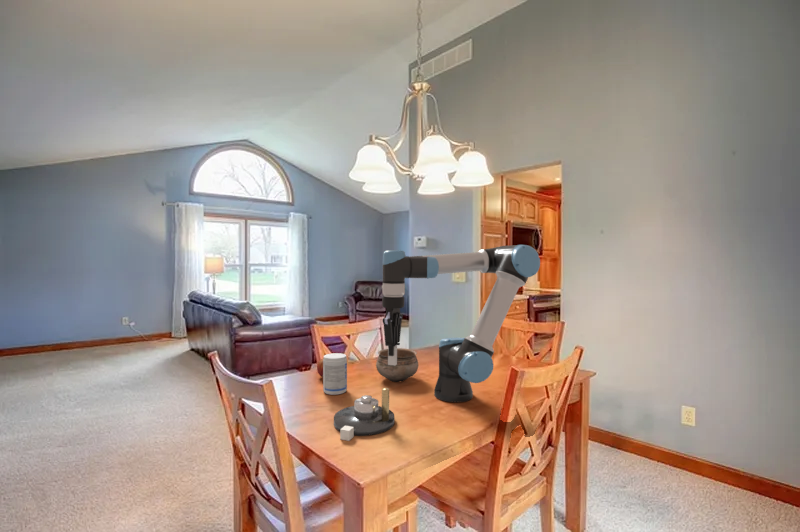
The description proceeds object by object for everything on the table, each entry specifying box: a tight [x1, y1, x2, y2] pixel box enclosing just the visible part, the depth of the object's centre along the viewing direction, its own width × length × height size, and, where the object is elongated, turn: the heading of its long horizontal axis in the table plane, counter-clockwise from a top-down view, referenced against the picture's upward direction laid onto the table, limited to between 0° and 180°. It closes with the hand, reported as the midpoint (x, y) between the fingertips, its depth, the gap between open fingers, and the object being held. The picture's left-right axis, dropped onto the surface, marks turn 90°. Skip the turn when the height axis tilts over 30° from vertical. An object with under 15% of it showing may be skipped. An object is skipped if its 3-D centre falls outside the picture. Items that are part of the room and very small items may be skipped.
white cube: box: [339, 426, 355, 442], centre depth 121 cm, size 3×3×3 cm
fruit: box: [316, 358, 323, 378], centre depth 180 cm, size 11×10×10 cm
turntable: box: [333, 387, 395, 437], centre depth 132 cm, size 20×20×12 cm
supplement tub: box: [322, 352, 348, 396], centre depth 162 cm, size 10×10×15 cm
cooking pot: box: [375, 347, 419, 383], centre depth 178 cm, size 25×19×12 cm
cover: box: [353, 395, 379, 420], centre depth 133 cm, size 8×8×6 cm
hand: (392, 364), depth 136 cm, fingers closed
